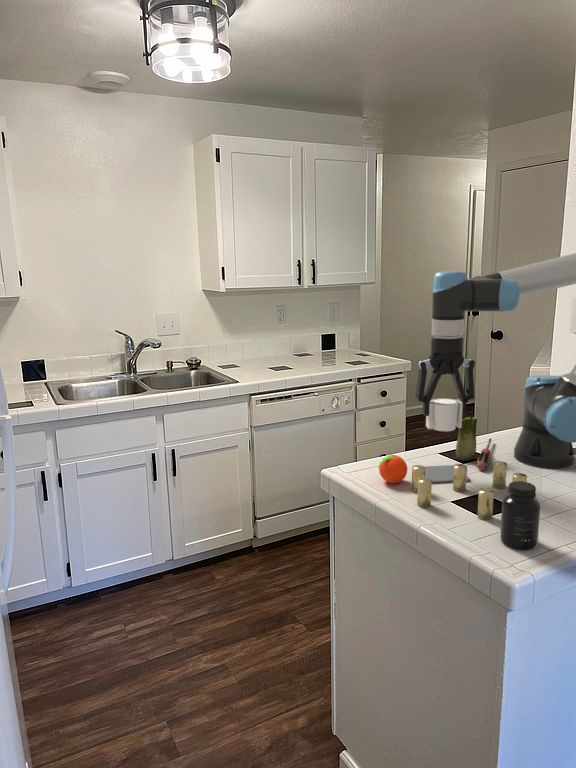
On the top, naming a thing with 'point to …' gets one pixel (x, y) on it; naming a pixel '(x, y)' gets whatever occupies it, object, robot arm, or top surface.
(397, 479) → the clementine
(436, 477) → the slate mat
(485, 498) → the spacer field
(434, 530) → the top surface
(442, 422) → the white cup
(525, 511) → the supplement bottle
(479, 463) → the screwdriver
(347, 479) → the top surface
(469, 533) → the top surface
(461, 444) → the fennel bulb
